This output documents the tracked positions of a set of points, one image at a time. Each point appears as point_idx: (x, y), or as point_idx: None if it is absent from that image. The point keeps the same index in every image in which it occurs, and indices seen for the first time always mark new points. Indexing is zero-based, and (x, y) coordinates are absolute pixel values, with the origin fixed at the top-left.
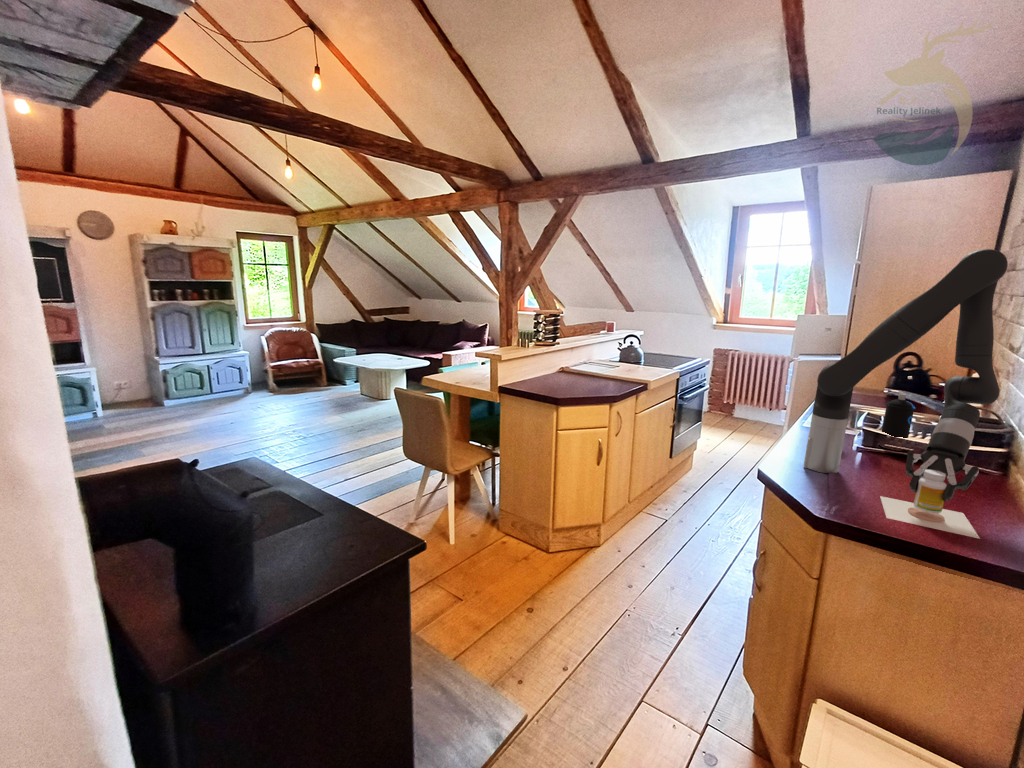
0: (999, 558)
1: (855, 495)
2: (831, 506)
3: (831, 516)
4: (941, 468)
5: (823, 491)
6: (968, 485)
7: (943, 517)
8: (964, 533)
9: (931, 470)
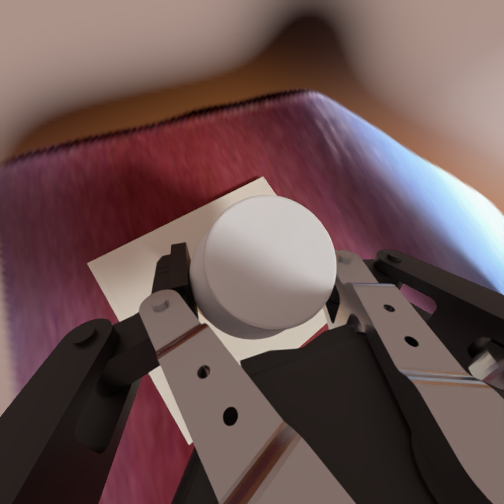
0: (28, 200)
1: (370, 257)
2: (339, 150)
3: (308, 109)
4: (292, 372)
5: (398, 210)
6: (83, 411)
7: (198, 308)
8: (126, 258)
9: (312, 280)
